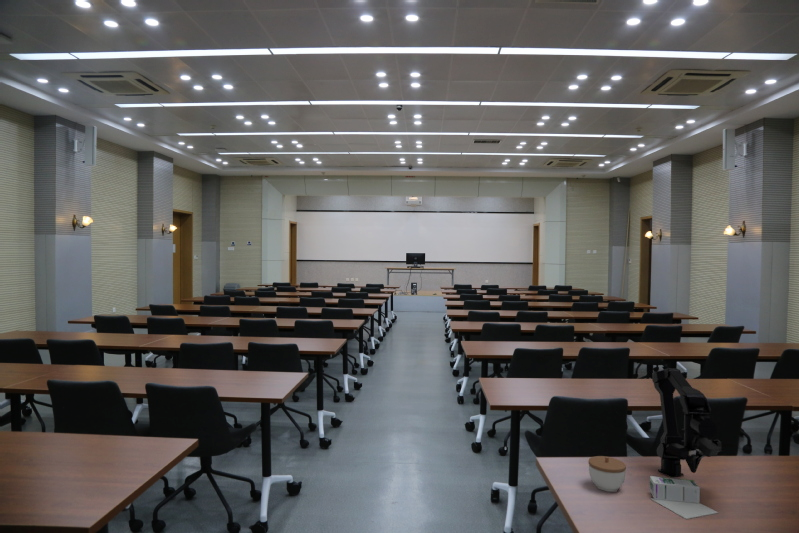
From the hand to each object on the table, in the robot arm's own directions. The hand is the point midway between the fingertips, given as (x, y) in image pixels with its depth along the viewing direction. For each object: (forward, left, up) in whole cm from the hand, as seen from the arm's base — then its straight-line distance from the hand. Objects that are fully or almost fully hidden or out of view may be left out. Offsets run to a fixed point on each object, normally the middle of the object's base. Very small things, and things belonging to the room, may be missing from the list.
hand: (693, 472), depth 173 cm
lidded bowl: (-14, -25, -8) cm, 30 cm away
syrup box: (+4, -2, -5) cm, 7 cm away
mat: (+5, -10, -8) cm, 14 cm away
